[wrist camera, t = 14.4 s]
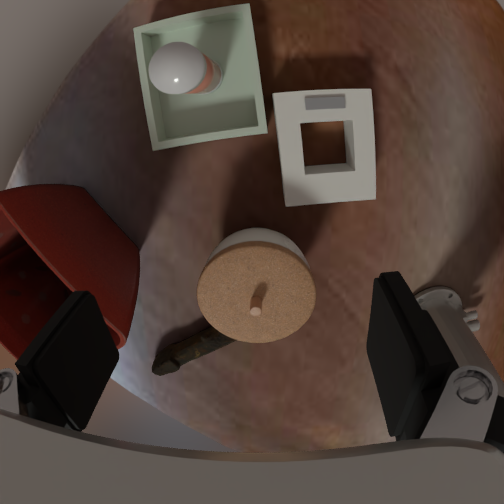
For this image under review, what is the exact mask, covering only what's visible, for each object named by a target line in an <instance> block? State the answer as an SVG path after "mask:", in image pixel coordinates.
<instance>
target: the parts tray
mask: <svg viewBox="0 0 504 504" xmlns="http://www.w3.org/2000/svg"><path fill="white" fill-rule="evenodd" d="M133 30H134V38H135V46H136V54H137V61H138V68H139V75H140V81H141V88H142V94H143V100H144V106H145V112H146V117H147V123H148V128H149V134H150V139H151V144H152V149H153V151H155V150H160V149H165V148H171V147H176V146H182V145H187V144H193V143H199V142H205V141H211V140H218V139H225V138H232V137H239V136H247V135H255V134H264V133H268V132H267V124H266V116H265V108H264V101H263V93H262V86H261V78H260V71H259V64H258V57H257V50H256V43H255V36H254V30H253V23H252V17H251V10H250V4H249V3H247V4H239V5H232V6H226V7H219V8H214V9H208V10H203V11H198V12H193V13H188V14H184V15H180V16H175V17H171V18H167V19H164V20H160V21H156V22H153V23H149V24H146V25H142V26H139V27H136V28H133ZM171 42H186V43H188V44H191V45H192V46H194V47H195V48H197V49H198V50H199V51H200V52H202V53H203V54H205V55H206V56H207V57H209V58H210V59H212V60H214V61H215V62H217V63H218V64H219V65H220V66H221V68H222V70H223V81H222V84H221V85H220V87H219V88H218V89H217V90H216V91H214V92H212V93H210V94H168V93H164V92H162V91H160V90H158V89H157V88H156V87H155V86H154V85H153V83H152V82H151V80H150V77H149V63H150V60H151V58H152V56H153V55H154V54H155V52H156V51H157V50H158V49H159V48H161V47H162V46H164V45H166V44H168V43H171Z"/></svg>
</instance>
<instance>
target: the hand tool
mask: <svg viewBox="0 0 504 504" xmlns="http://www.w3.org/2000/svg"><path fill="white" fill-rule="evenodd" d="M234 341H237V340H236V339H233V338H230V337H228V336H226V335H224V334H222V333H221V332H219V331H218V330H217V329H215V328H214V327H213V326H211V327H210V328H208V329H206V330H204V331H200V333H198V334H196V335H194V336H192V337H190V338H188V339H186V340H184V341H182V342H180V343H178V344H174V343H173V344H171V345H169V346H168V347H166V348H165V349H164V350H163V351H162V352H160V353H159V354H158V356H157V357H156V358H155V360H154V362H153V365H152V372H153V373H154V374H156V375H159V376H161V375H165V374H168V373H173V372H176V371H177V370H179V368H180V366H181V365H183V364H185V363H187V362H189V361H191V360H194V359H197V358H199V357H201V356H203V355H206V354H208V353H210V352H213V351H215V350H217V349H219V348H222V347H223V346H226V345H228V344H230V343H232V342H234Z"/></svg>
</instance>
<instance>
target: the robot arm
mask: <svg viewBox="0 0 504 504" xmlns="http://www.w3.org/2000/svg"><path fill="white" fill-rule="evenodd" d="M477 316H478V313H477V311H476V310H475V311H470V312H468V313H466V312H464V310H463V309H462V302H461V299H460V297H459V296H458V294H457V293H456V292H455V291H454V290H452V289H451V288H448V287H444V286H438V287H432V288H429V289H426V290H424V291H422V292H420V293H418V294H417V295H415V296H414V295H413V293H412V292H411V290H410V288H409V287H408V285H407V284H406V282H405V280H404V279H403V277H402V276H401V274H400V273H399V272H398V271H395V272H384V273H381V274H380V276H379V278H375V279H374V285H373V295H372V305H371V314H370V322H369V330H368V337H367V354H368V358H369V361H370V365H371V368H372V371H373V375H374V379H375V382H376V386H377V389H378V393H379V397H380V400H381V404H382V408H383V412H384V416H385V420H386V424H387V428H388V432H389V435H390V436H391V437H393V436H395V437H396V441H395V442H388V443H379V444H371V445H364V446H357V447H348V448H338V449H327V450H314V451H298V452H272V453H241V452H214V451H198V450H187V449H176V448H168V447H160V446H152V445H145V444H139V443H133V442H126V441H120V440H116V439H111V438H105V437H101V436H96V435H92V434H87V433H83V432H81V431H82V430H83V429H85V428H86V426H87V424H88V422H89V420H90V418H91V415H92V413H93V411H94V409H95V407H96V405H97V403H98V401H99V399H100V397H101V394H102V392H103V390H104V388H105V386H106V384H107V382H108V380H109V378H110V376H111V374H112V372H113V370H114V368H115V366H116V364H117V362H118V360H119V352H118V349H117V347H116V345H115V343H114V340H113V338H112V336H111V334H110V331H109V329H108V327H107V325H106V322H105V320H104V318H103V315H102V313H101V310H100V308H99V305H98V303H97V300H96V298H95V296H94V295H92V294H91V293H90V292H89V291H74V292H72V293H71V295H70V296H69V297H68V298H67V299H66V300H65V302H64V303H63V304H62V305H61V306H60V307H59V309H58V310H57V311H56V312H55V313H54V315H53V316H52V317H51V318H50V319H49V321H48V322H47V323H46V324H45V325H44V327H43V328H42V329H41V330H40V332H39V333H38V334H37V335H36V337H35V338H34V339H33V340H32V342H31V343H30V344H29V346H28V347H27V348H26V349H25V351H24V352H23V353H22V355H21V356H20V357H19V359H18V360H17V362H16V363H15V365H16V367H17V368H18V370H19V371H20V373H19V375H17V374H16V372H15V371H14V370H13V369H10V368H7V369H6V368H5V369H3V370H0V504H504V383H503V381H502V379H501V378H500V376H499V374H498V373H497V371H496V369H495V368H494V366H493V364H492V363H491V361H490V359H489V358H488V356H487V354H486V353H485V351H484V350H483V348H482V346H481V345H480V343H479V342H478V340H477V339H476V337H475V336H474V334H473V333H472V332H473V331H477V330H479V328H480V323H479V321H478V320H477V319H476V318H477ZM472 319H476V320H472ZM467 320H472V321H468V322H467Z"/></svg>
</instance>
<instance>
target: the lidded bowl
mask: <svg viewBox="0 0 504 504" xmlns="http://www.w3.org/2000/svg"><path fill="white" fill-rule="evenodd" d="M197 300H198V304H199V307H200V310H201V312H202V314H203V315H204V317H205V318H206V320H207V321H208V322H209V323H210V324H211V325H212V326H213V327H214V328H215V329H217V330H218V331H219V332H221V333H222V334H224V335H226V336H228V337H230V338H233V339H236V340H239V341H244V342H251V343H264V342H271V341H275V340H279V339H282V338H284V337H287V336H288V335H290V334H292V333H294V332H295V331H296V330H298V329H299V328H300V327H301V326H302V325H303V324H304V323H305V322H306V321H307V320H308V318H309V317H310V315H311V313H312V311H313V309H314V306H315V303H316V285H315V282H314V278H313V275H312V273H311V271H310V268H309V265H308V263H307V261H306V259H305V257H304V255H303V253H302V252H301V250H300V249H299V248H298V247H297V245H296V244H295V243H294V242H293V241H292V240H291V239H289V238H288V237H286V236H285V235H283V234H281V233H279V232H277V231H274V230H271V229H267V228H248V229H244V230H240V231H237V232H235V233H233V234H231V235H229V236H228V237H226V238H225V239H224V240H223V241H222V242H221V243H220V244H219V245H218V246H217V247H216V248H215V249H214V251H213V252H212V253H211V255H210V257H209V258H208V260H207V263H206V265H205V267H204V269H203V271H202V273H201V275H200V278H199V281H198V286H197Z"/></svg>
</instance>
